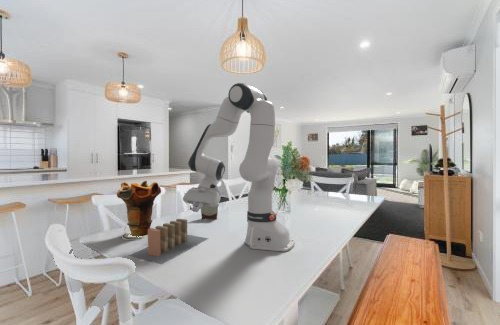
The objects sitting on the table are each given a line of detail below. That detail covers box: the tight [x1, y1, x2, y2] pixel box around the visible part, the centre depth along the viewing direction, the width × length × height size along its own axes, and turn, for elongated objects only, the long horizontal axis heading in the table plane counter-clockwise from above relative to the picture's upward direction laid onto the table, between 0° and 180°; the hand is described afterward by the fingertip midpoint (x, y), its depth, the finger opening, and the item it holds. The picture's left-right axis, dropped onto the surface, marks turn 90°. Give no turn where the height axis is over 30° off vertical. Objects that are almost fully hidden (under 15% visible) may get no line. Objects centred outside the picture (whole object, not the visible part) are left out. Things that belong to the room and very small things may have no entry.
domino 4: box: [169, 220, 182, 246], centre depth 107 cm, size 2×5×10 cm, turn 64°
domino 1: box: [147, 227, 161, 256], centre depth 96 cm, size 2×5×10 cm, turn 64°
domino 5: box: [175, 218, 189, 243], centre depth 110 cm, size 2×5×10 cm, turn 64°
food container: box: [200, 203, 220, 220], centre depth 153 cm, size 12×6×10 cm, turn 84°
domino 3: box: [162, 222, 175, 249], centre depth 103 cm, size 2×5×10 cm, turn 64°
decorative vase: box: [116, 180, 162, 241], centre depth 124 cm, size 21×23×28 cm
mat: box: [128, 234, 210, 265], centre depth 105 cm, size 18×29×1 cm, turn 154°
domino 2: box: [155, 225, 168, 253], centre depth 100 cm, size 2×5×10 cm, turn 64°
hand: (194, 211), depth 119 cm, fingers closed
